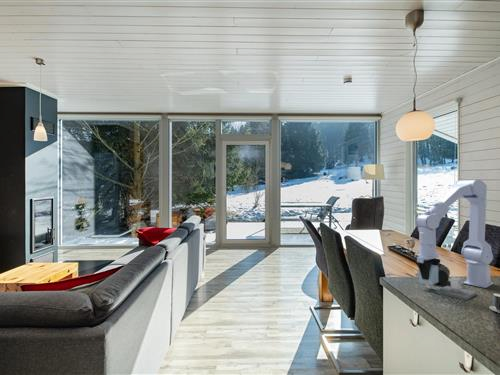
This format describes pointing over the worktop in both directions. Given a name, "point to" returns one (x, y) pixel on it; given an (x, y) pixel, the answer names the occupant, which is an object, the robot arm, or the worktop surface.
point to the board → (461, 295)
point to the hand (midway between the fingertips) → (428, 277)
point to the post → (456, 284)
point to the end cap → (443, 275)
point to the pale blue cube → (430, 276)
